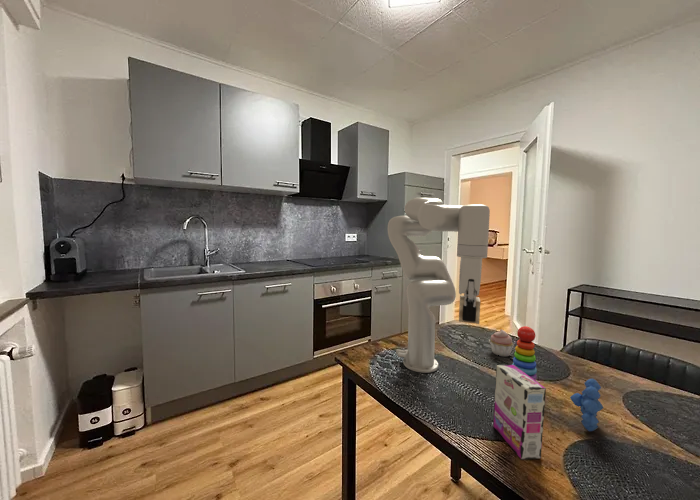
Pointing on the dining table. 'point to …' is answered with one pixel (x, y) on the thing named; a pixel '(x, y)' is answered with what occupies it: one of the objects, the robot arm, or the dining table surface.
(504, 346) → the cupcake
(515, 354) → the stacking toy
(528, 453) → the candy bar box
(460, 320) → the beech block
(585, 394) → the grapes
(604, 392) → the dining table surface
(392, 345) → the dining table surface
